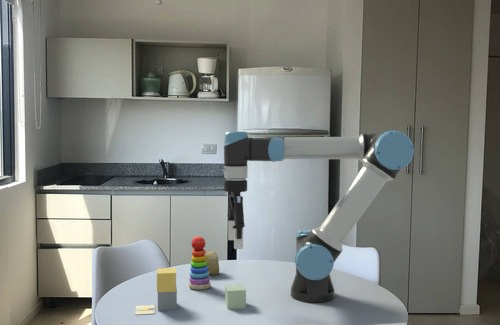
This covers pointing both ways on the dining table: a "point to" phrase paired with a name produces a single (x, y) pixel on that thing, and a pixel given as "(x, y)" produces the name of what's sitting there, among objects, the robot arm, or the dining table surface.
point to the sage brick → (235, 296)
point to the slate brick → (167, 300)
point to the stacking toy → (199, 266)
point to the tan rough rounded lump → (212, 262)
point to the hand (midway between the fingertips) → (235, 244)
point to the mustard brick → (166, 280)
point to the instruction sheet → (145, 309)
